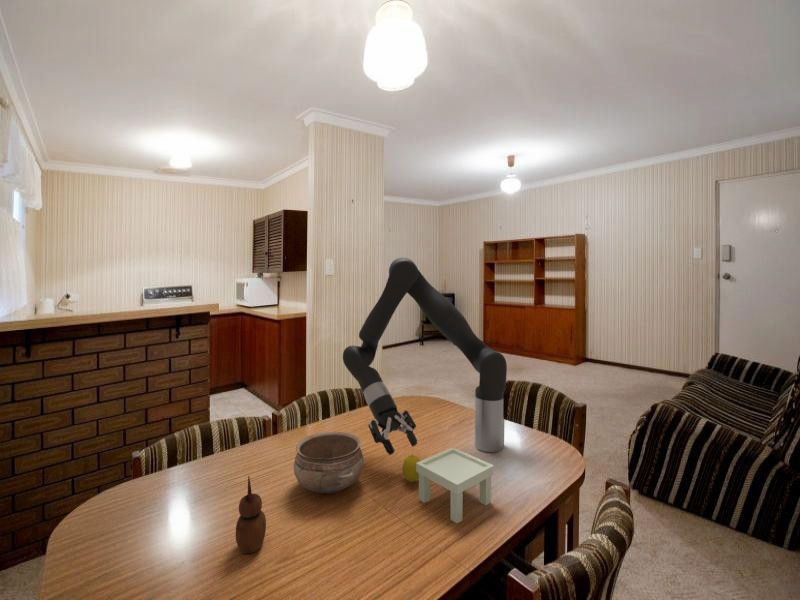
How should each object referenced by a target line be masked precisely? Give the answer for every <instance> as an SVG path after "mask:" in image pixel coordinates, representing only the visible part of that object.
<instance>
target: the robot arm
mask: <svg viewBox="0 0 800 600" xmlns="http://www.w3.org/2000/svg"><path fill="white" fill-rule="evenodd" d="M407 294H408V295H409V296H410V297H411V298H412V299H413V300H414V302H416V304H417V305H418V306H419V308H420V310H421V311H422V312H423V314H424V315H425V317H426V318H427V319H428V320H429V321H430V323H431V324H432V325H433V326H434V327H435V328H436V330H438V331H439V332H440V334H441V335H443V336H444V337H445V339H447V340H448V341H449V342H451V343H452V344H453V345H454V346H455V347H457V348H458V350H459V351H460V352H461V353H462V354H463V356H465V357H466V359H467V360H468V361H469V363H470V364H471V365H472V367H473V368H474V370H475V371H476V372H477V373H478V374H479V383H478V385H477V386H476V387H475V392H474V398H475V399H474V403H475V404H474V409H475V411H474V412H475V413H474V415H475V416H474V423H475V424H474V446H475V448H476V449H477V450H478V451H482V452H486V453H497V452H500V451H502V450H503V447H504V446H505V418H504V393H505V392H506V388H507V387H506V386H507V376H508V375H507V372H508V370H507V369H508V368H507V361H506V360H507V359H506V358H505V356H504V355H503V354H502V353H500V352H499V351H496V350H495V349H492V348H491V347H489V346H488V345H486V344H485V343H484V342H483V341H482V340H481V339H480V338H479V337H478V336H477V335H476V334H475V333H474V331H473V329H472V327H471V326H470V324H469V322H468V321H467V319H466V317H465V316H464V315H463V314H462V313H461V312H460V310H459V309H458V308H456V306H455V305H454V304H453V303H452V302H451V301H450V300H449V299H447V298H446V297H445V296H444V295H443V294H442V293H441V292H440V291H439V290H437V289H436V288H435V287H434V286H433V285H431V283H429V281H428V280H427V279H426V278H425V277H424V275H423V274H422V272H420V270H419V268H418V266H417V265H416V264H415V262H414V261H413V260H411V259H410V258H407V257H397V258H396V259H394V260H393V261H392V262H391V263H390V266H389V268H388V277H387V280H386V284H385V286H384V289H383V291H382V293H381V295H380V296H379V298H378V300H377V302H376V303H375V304H374V306H373V307H372V309H371V310H370V311H369V312H370V313H369V314H368V315H367V317H366V319H365V320H364V322H363V325H362V327H361V329H360V330H359V333H358V338H359V339H360V340H361V341H362V344H361V345H360V346H358V345H349V346H347V347H345V349H344V350H343V353H342V361H343V364H344V366H345V368H346V369H347V370H348V372H349V373H350V374H351V376H353V378H354V379H355V380H356V381H357V383H358V385H359V387H360V389H361V391H362V394H363V395H364V399H365V402H366V404H367V405H368V407H369V410H370V411H371V415H372V416H373V419H372V420H371V421H370V422H369V423H368V428H369V431H370V433H371V436H372V438H373V441H374V443H375V444H378V443H380V444H382V446H383V447H384V450H385V452H386V453H387V454H388V455H389V456H390V455H393V454H394V453H395V448H394V446H393V444H392V442H391V440H390V438H389V434H390V433H392V432H396V431H399V432H401V433H402V432H403V433H404V434H405V435H406V438H407V439H408V442H409V443H410V445H411V447H415V446H417V444H418V439H417V437H416V435H415V433H414V430H415V428H417V425H416V423H415V422H414V420H413V418H412V416H411V414H410V413H409V411H408V410H404V411H403V412H399V411H398V407H397V405H396V403H395V400H394V398H393V397H392V395H391V392H390V391H389V389H388V387H387V386H386V384H385V383H384V381H383V379H382V377H381V375H380V373H379V371H378V370H377V369H376V368H374V367H371V365H372V363H373V362H374V360H375V357H376V355H377V350H378V347H379V346H378V345H379V341H380V340H381V338H382V336H383V334H384V333H385V330H386V329H387V327H388V326H389V323H390V321H391V319H392V317H393V315H394V313H395V311H396V310H397V308H398V306H399V304H400V303H401V301H402V300H403V298H404V297H405V296H406V295H407ZM379 427H380V428H381V431H380V429H379Z"/></svg>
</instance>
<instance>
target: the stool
mask: <svg viewBox="0 0 800 600" xmlns="http://www.w3.org/2000/svg"><path fill="white" fill-rule="evenodd" d="M416 472H418V473H419V479H418V500H419V501H420V502H422V503H424V504H425V503H427V502H429V501H430V500H431V481H433V482H434V483H436V484H437V485H439V486H441V487H442V488H444V489H447V490H449V491H450V520H451V521H452V522H454V523H455V524H458V523H460V522H462V521H463V511H464V510H463V504H464V503H463V497H464V496H463V492H465V491H466V490H467V489H470V488H472V487H474V486H475V485H477V484H479V503H481V504H482V505H484V506H487V505H490V504H491V503H492V501H491V500H492V499H491V498H492V496H491V495H492V494H491V493H492V476H494V475H495V466H494V465H493V464H491V463H489V462H487V461H485V460H482V459H479V458H478V457H476V456H473V455H470V454H469V453H466V452H464V451H462V450H460V449H457V448H455V447H451V448H449V449H446V450H443V451H441V452H439V453H436V454H434V455H432V456H429V457H427V458H424V459H422V460H420V462H417V463H416Z"/></svg>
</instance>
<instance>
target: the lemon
mask: <svg viewBox="0 0 800 600" xmlns="http://www.w3.org/2000/svg"><path fill="white" fill-rule="evenodd" d="M420 461H421V459H420V457H418V456H416V454H415V455H414V454H410V455H408V456H406V457H405V458H404V460H403V463H402V467H401V469H402V475H403V478H404V479H405V480H407V481H409V482H411V483H414V482H416V481H419V473H418V472H416V463H417V462H420Z"/></svg>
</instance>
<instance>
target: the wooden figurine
mask: <svg viewBox="0 0 800 600" xmlns="http://www.w3.org/2000/svg"><path fill="white" fill-rule="evenodd" d="M247 477H248V478H247V494H246V495H244V496H243V497H241V499H240V500H239V502H238V513H239V517H238V518H237V521H236V524H235V541H236V545H237V547H238V549H239V551H241V552H242V553H244V554H253V553H255V552H257V551H259V549H260V548H261V547H262V546H263V544H264V539H265V536H266V530H267V529H266V528H267V519H266V515H265V513H264V511H262V509H263V503H262V502H263V501H262V498H261V496H260V495H259V494H258V493H252V485H251V479H250V475H248V476H247Z"/></svg>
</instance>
